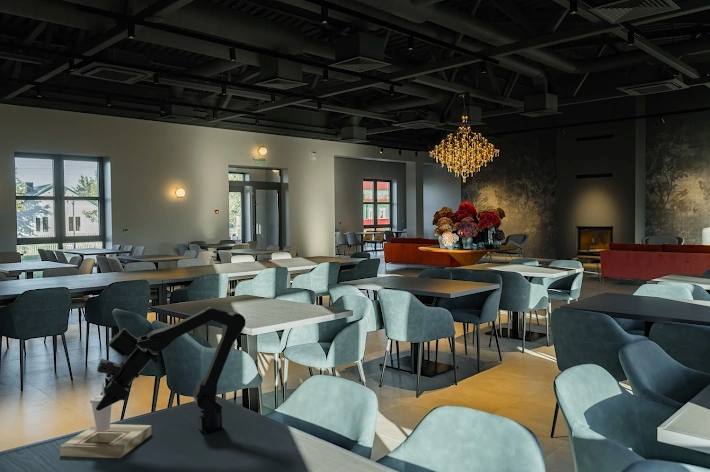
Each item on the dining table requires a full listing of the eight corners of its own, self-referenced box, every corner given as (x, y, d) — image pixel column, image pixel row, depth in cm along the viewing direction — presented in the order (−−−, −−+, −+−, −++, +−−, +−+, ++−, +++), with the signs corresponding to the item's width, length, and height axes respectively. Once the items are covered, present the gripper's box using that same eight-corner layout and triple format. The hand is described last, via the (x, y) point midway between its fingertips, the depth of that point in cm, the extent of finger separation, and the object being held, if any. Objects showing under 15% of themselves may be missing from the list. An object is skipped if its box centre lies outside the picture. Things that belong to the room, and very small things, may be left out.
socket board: (96, 432, 192) (96, 423, 192) (151, 434, 189) (151, 424, 189) (60, 456, 173) (59, 445, 173) (120, 458, 170) (120, 447, 170)
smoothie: (114, 430, 177) (111, 384, 176) (90, 434, 175) (88, 387, 174) (114, 423, 183) (112, 379, 182) (92, 427, 181) (90, 382, 180)
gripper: (112, 343, 188) (75, 383, 184) (114, 355, 171) (74, 399, 167) (139, 364, 192) (104, 404, 187) (144, 378, 175) (105, 421, 170)
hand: (97, 406), depth 178 cm, fingers closed on smoothie, 6 cm apart
